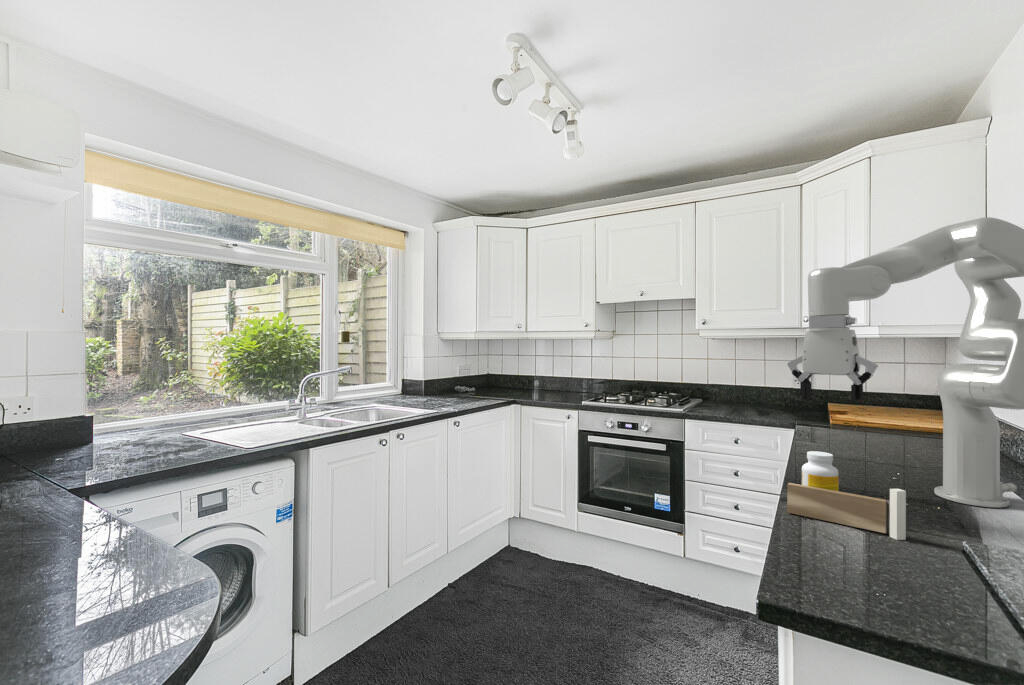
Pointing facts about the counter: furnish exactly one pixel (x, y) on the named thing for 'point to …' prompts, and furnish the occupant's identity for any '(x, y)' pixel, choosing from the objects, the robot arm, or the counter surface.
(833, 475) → the supplement bottle
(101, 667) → the counter surface
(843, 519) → the wooden plank
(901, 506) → the gate post
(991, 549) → the counter surface
